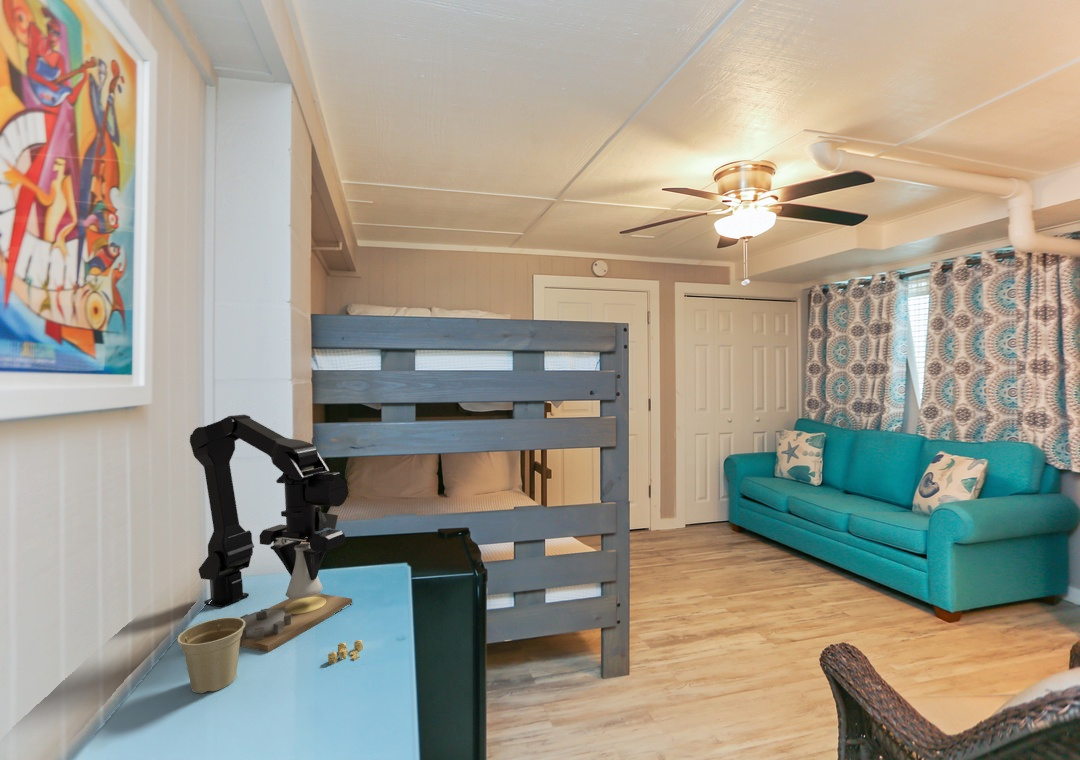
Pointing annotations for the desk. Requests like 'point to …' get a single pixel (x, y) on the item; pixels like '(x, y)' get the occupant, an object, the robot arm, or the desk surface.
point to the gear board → (298, 622)
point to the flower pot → (212, 652)
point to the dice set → (345, 652)
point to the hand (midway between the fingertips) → (303, 578)
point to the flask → (302, 577)
